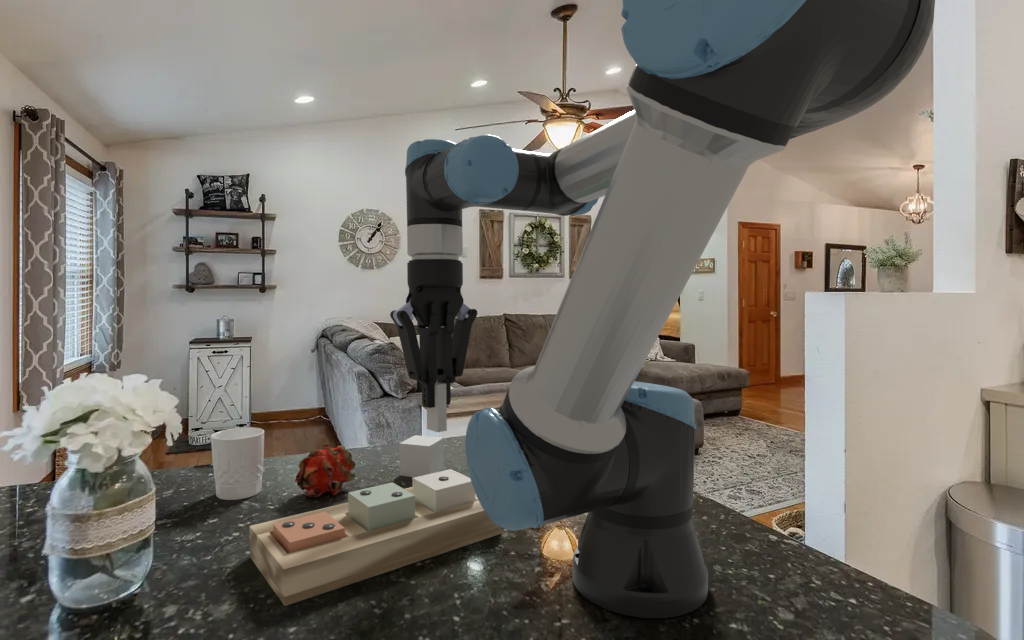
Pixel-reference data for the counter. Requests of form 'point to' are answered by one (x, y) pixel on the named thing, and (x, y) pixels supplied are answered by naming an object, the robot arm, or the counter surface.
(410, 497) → the key two
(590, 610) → the counter surface
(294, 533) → the key three
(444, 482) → the key one
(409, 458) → the white cube
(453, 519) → the key panel
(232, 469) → the white cup
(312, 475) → the dragon fruit
